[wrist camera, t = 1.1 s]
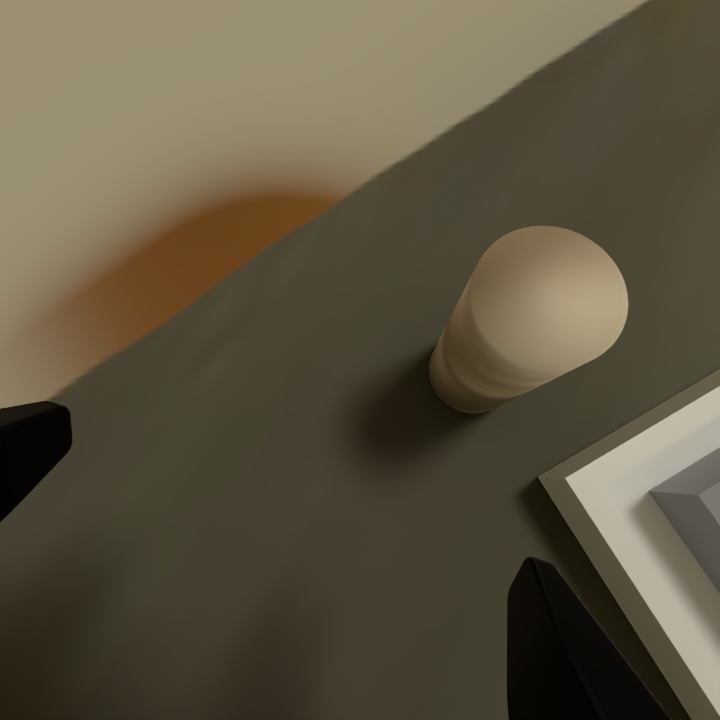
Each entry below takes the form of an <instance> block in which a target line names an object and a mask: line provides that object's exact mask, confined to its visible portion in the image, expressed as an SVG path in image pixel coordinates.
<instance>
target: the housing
mask: <svg viewBox="0 0 720 720" xmlns="http://www.w3.org/2000/svg"><path fill="white" fill-rule="evenodd" d="M538 478H539V480H540V481H541V483H542V485H543V486H544V488H545V489H546V491H547V492H548V494H549V496H550V497H551V499H552V500H553V502H554V504H555V505H556V507H557V508H558V510H559V511H560V513H561V515H562V516H563V518H564V519H565V521H566V522H567V524H568V526H569V527H570V529H571V530H572V532H573V534H574V535H575V537H576V538H577V540H578V541H579V543H580V545H581V546H582V548H583V549H584V551H585V552H586V554H587V556H588V557H589V559H590V560H591V562H592V564H593V565H594V567H595V568H596V570H597V571H598V573H599V575H600V576H601V578H602V579H603V581H604V582H605V584H606V586H607V587H608V589H609V590H610V592H611V593H612V595H613V597H614V598H615V600H616V601H617V603H618V605H619V606H620V608H621V609H622V611H623V612H624V614H625V616H626V617H627V619H628V620H629V622H630V623H631V625H632V627H633V628H634V630H635V631H636V633H637V635H638V636H639V638H640V639H641V641H642V642H643V644H644V646H645V647H646V649H647V650H648V652H649V653H650V655H651V657H652V658H653V660H654V661H655V663H656V665H657V666H658V668H659V669H660V671H661V672H662V674H663V676H664V677H665V679H666V680H667V682H668V683H669V685H670V687H671V688H672V690H673V691H674V693H675V695H676V696H677V698H678V699H679V701H680V702H681V704H682V706H683V707H684V709H685V710H686V712H687V713H688V715H689V717H690V718H691V720H720V369H719V370H717V371H716V372H714V373H712V374H711V375H709V376H707V377H706V378H704V379H702V380H700V381H699V382H697V383H695V384H694V385H692V386H690V387H689V388H687V389H685V390H684V391H682V392H680V393H678V394H677V395H675V396H673V397H672V398H670V399H668V400H667V401H665V402H663V403H662V404H660V405H658V406H656V407H655V408H653V409H651V410H650V411H648V412H646V413H645V414H643V415H641V416H640V417H638V418H636V419H634V420H633V421H631V422H629V423H628V424H626V425H624V426H623V427H621V428H619V429H618V430H616V431H614V432H612V433H611V434H609V435H607V436H606V437H604V438H602V439H601V440H599V441H597V442H596V443H594V444H592V445H591V446H589V447H587V448H585V449H584V450H582V451H580V452H579V453H577V454H575V455H574V456H572V457H570V458H569V459H567V460H565V461H563V462H562V463H560V464H558V465H557V466H555V467H553V468H552V469H550V470H548V471H547V472H545V473H543V474H541V475H540V476H538Z"/></svg>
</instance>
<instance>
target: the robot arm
mask: <svg viewBox="0 0 720 720" xmlns="http://www.w3.org/2000/svg"><path fill="white" fill-rule="evenodd" d="M71 445H72V428H71V416H70V411H69V410H68V408H67V407H65V406H63V405H60V404H57V403H54V402H50V401H41V402H36V403H30V404H24V405H19V406H13V407H8V408H2V409H0V522H1V521H2V520H3V519H4V518H5V517H6V516H7V515H8V514H9V513H10V512H11V511H12V510H13V509H14V508H15V507H16V506H17V505H18V504H19V503H20V502H21V501H22V500H23V499H24V498H25V497H26V496H27V495H28V494H29V493H30V492H31V491H32V489H33V488H34V487H35V486H36V485H37V484H38V483H39V482H40V481H41V480H42V479H43V478H44V477H45V476H46V475H47V474H48V473H49V472H50V471H51V470H52V469H53V467H54V466H55V465H56V464H57V463H58V462H59V461H60V460H61V459H62V458H63V457H64V456H65V455H66V454H67V453H68V451H69V450H70V448H71ZM507 703H508V717H509V720H672V719H671V718H670V717H669V715H668V714H667V713H666V711H665V710H664V709H663V708H662V706H661V705H660V704H659V702H658V701H657V700H656V698H655V697H654V696H653V694H652V693H651V692H650V690H649V689H648V688H647V686H646V685H645V684H644V683H643V681H642V680H641V679H640V677H639V676H638V675H637V673H636V672H635V671H634V669H633V668H632V667H631V665H630V664H629V663H628V662H627V660H626V659H625V658H624V656H623V655H622V654H621V652H620V651H619V650H618V648H617V647H616V646H615V644H614V643H613V642H612V641H611V639H610V638H609V637H608V635H607V634H606V633H605V631H604V630H603V629H602V627H601V626H600V625H599V623H598V622H597V621H596V620H595V618H594V617H593V616H592V614H591V613H590V612H589V610H588V609H587V608H586V606H585V605H584V604H583V602H582V601H581V600H580V598H579V597H578V596H577V595H576V593H575V592H574V591H573V589H572V588H571V587H570V585H569V584H568V583H567V581H566V580H565V579H564V577H563V576H562V575H561V574H560V572H559V571H558V570H557V568H556V567H555V566H554V565H553V564H551V563H549V562H547V561H544V560H541V559H537V558H534V557H527V558H526V559H525V560H524V562H523V564H522V566H521V567H520V569H519V571H518V573H517V575H516V577H515V579H514V581H513V583H512V585H511V587H510V589H509V593H508V600H507Z"/></svg>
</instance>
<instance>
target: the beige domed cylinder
mask: <svg viewBox="0 0 720 720" xmlns="http://www.w3.org/2000/svg"><path fill="white" fill-rule="evenodd" d="M627 313H628V295H627V290H626V285H625V282H624V280H623V277H622V275H621V273H620V271H619V269H618V267H617V266H616V264H615V263H614V261H613V260H612V259H611V258H610V256H609V255H608V254H607V253H606V252H605V251H604V250H603V249H602V248H600V247H599V246H598V245H597V244H595V243H594V242H593V241H591V240H590V239H588V238H586V237H584V236H583V235H581V234H578V233H576V232H573V231H571V230H567V229H564V228H559V227H553V226H532V227H526V228H522V229H519V230H515V231H513V232H511V233H508V234H506V235H505V236H503V237H501V238H500V239H498V240H497V241H496V242H494V243H493V244H492V245H491V246H490V247H489V248H488V249H487V250H486V252H485V253H484V254H483V256H482V257H481V259H480V261H479V263H478V265H477V267H476V269H475V271H474V273H473V274H472V276H471V278H470V280H469V282H468V284H467V286H466V288H465V290H464V292H463V294H462V296H461V298H460V300H459V302H458V304H457V306H456V308H455V310H454V312H453V314H452V316H451V317H450V319H449V321H448V323H447V325H446V327H445V329H444V331H443V333H442V335H441V337H440V339H439V341H438V343H437V345H436V347H435V349H434V351H433V353H432V355H431V357H430V360H429V366H428V374H429V380H430V383H431V386H432V388H433V390H434V392H435V393H436V395H437V396H438V397H439V399H440V400H441V401H442V402H444V403H445V404H446V405H447V406H449V407H450V408H452V409H454V410H457V411H459V412H463V413H468V414H479V413H484V412H487V411H490V410H492V409H494V408H496V407H498V406H500V405H502V404H504V403H506V402H508V401H510V400H512V399H514V398H516V397H518V396H520V395H522V394H525V393H527V392H529V391H531V390H533V389H535V388H537V387H539V386H541V385H543V384H545V383H547V382H549V381H551V380H553V379H555V378H557V377H559V376H561V375H563V374H565V373H567V372H569V371H571V370H573V369H575V368H577V367H579V366H581V365H583V364H585V363H587V362H589V361H591V360H593V359H595V358H597V357H598V356H600V355H601V354H603V353H604V352H605V351H607V350H608V349H609V348H610V347H611V346H612V345H613V344H614V342H615V341H616V340H617V339H618V337H619V335H620V333H621V332H622V330H623V327H624V325H625V322H626V318H627Z"/></svg>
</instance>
